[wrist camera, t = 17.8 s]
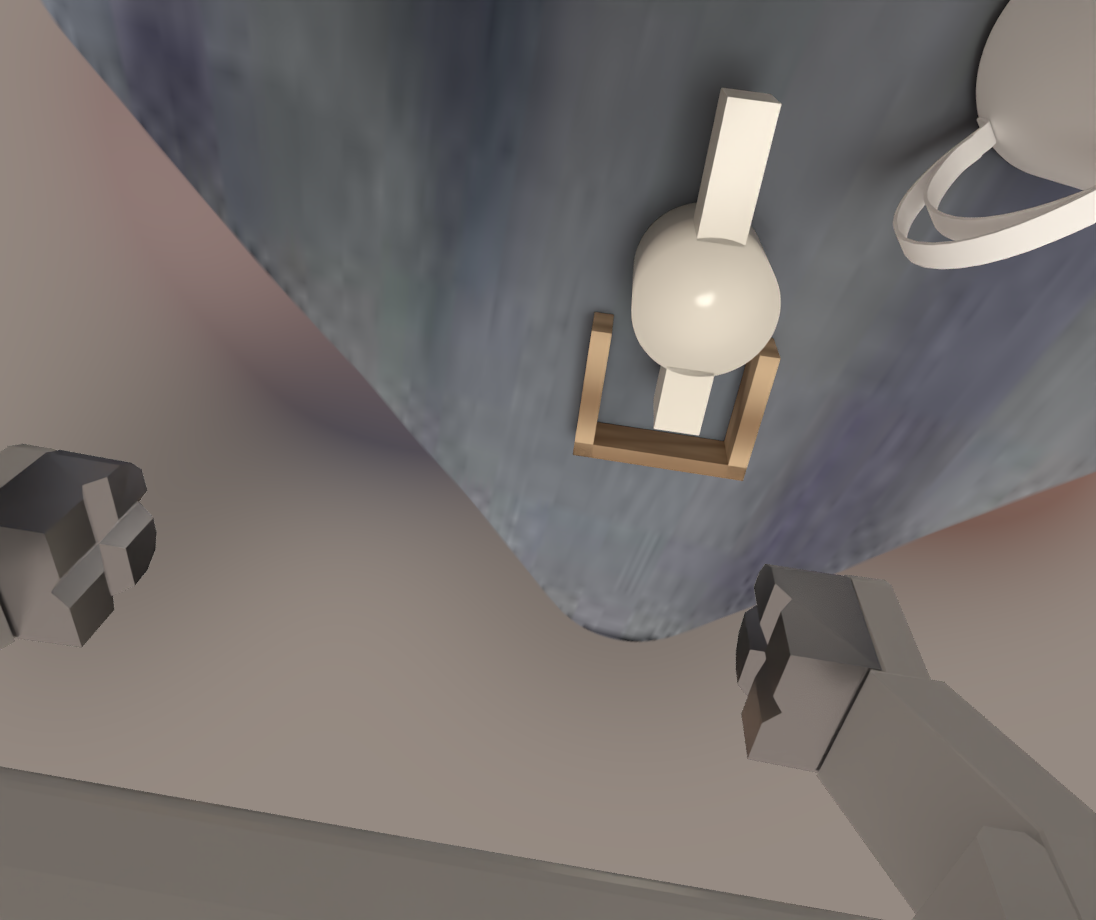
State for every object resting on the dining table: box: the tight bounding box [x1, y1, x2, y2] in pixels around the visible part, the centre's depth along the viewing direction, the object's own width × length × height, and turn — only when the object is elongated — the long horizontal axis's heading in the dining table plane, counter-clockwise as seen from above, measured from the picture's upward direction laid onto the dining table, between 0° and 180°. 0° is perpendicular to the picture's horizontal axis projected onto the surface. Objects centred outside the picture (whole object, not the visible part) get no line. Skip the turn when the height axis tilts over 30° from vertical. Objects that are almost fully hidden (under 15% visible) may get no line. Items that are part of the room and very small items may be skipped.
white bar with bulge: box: [631, 87, 781, 435], centre depth 41 cm, size 8×17×7 cm, turn 174°
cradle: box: [573, 312, 780, 481], centre depth 48 cm, size 9×11×3 cm
